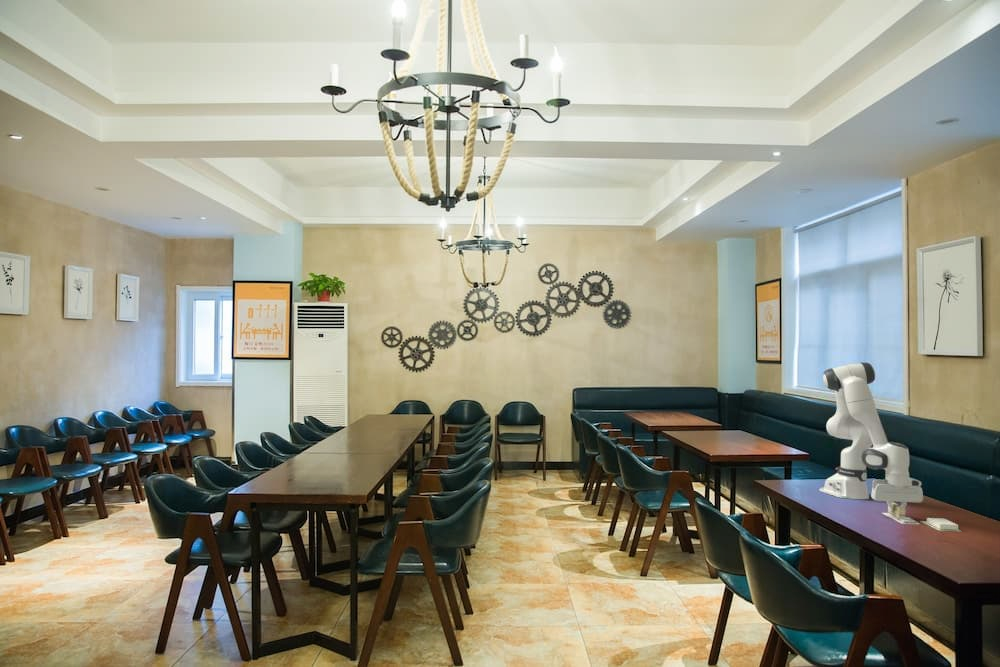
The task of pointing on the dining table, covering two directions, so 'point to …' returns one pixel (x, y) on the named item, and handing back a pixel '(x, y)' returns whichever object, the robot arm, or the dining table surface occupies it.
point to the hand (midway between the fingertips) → (896, 511)
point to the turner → (900, 513)
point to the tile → (942, 523)
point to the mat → (936, 527)
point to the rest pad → (898, 519)
